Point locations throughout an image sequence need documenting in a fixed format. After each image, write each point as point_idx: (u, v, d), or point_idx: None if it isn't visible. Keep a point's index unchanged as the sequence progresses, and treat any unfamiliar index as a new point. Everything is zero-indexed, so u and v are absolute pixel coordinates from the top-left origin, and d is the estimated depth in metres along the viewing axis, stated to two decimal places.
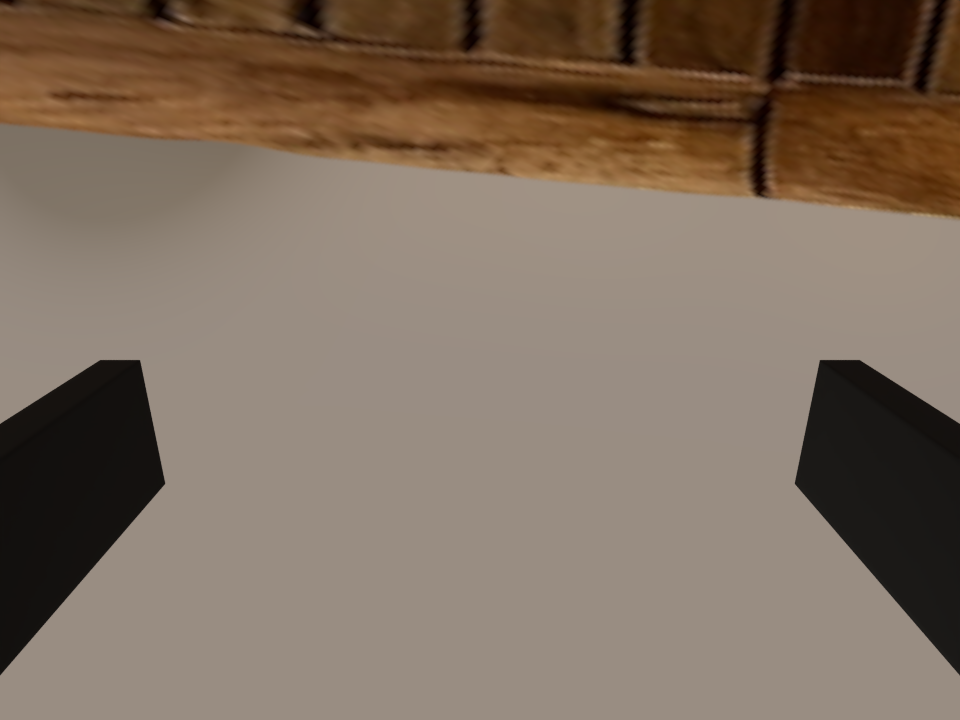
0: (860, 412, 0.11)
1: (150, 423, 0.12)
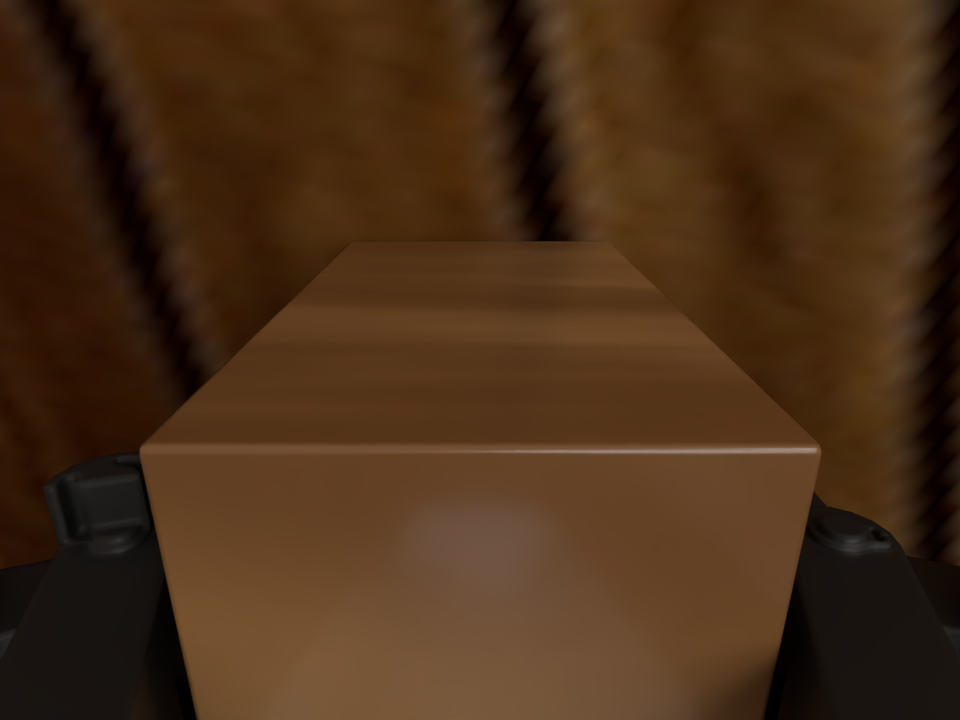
0: None
1: None
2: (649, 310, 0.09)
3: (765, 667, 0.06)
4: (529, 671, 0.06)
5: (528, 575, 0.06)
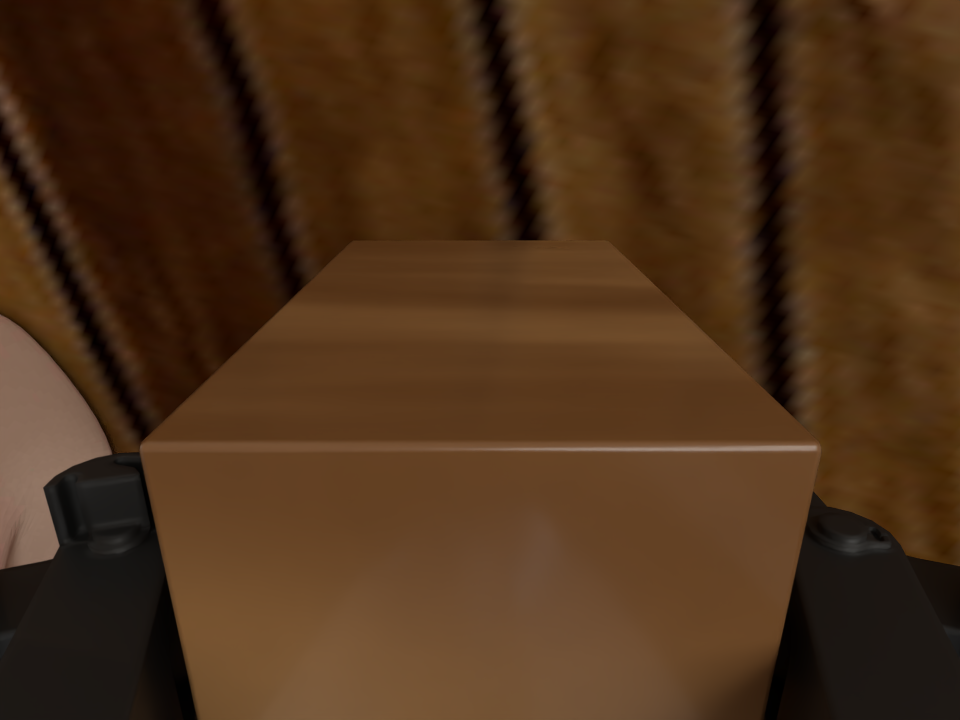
0: None
1: None
2: (649, 309, 0.09)
3: (765, 665, 0.06)
4: (528, 668, 0.06)
5: (529, 573, 0.06)
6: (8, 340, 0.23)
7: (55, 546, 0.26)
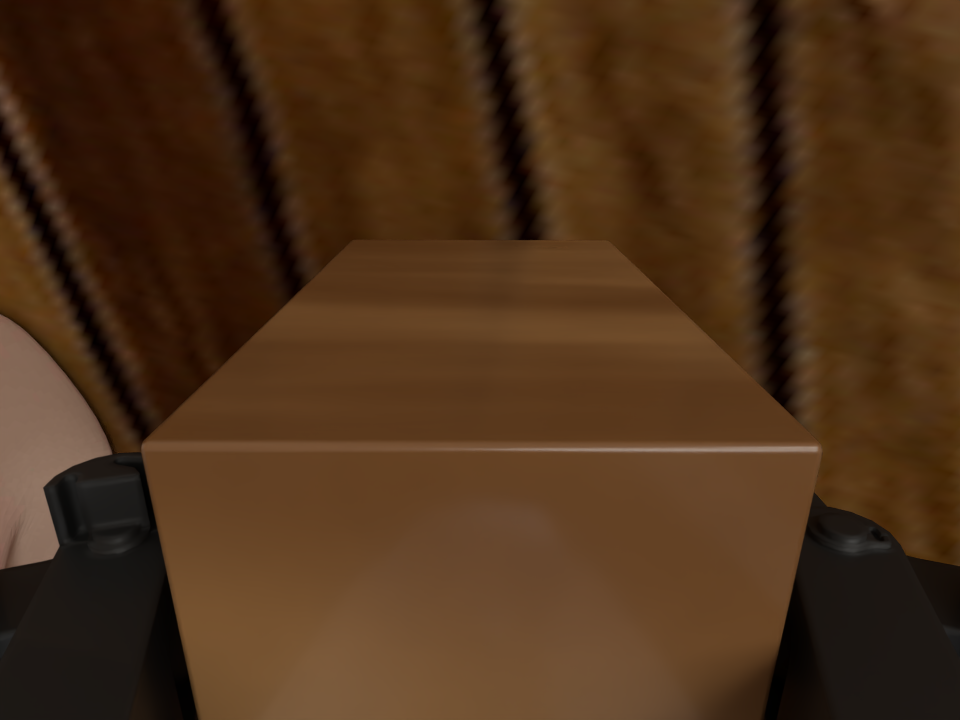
0: None
1: None
2: (650, 309, 0.09)
3: (765, 665, 0.06)
4: (529, 668, 0.06)
5: (529, 571, 0.06)
6: (8, 340, 0.23)
7: (55, 546, 0.26)
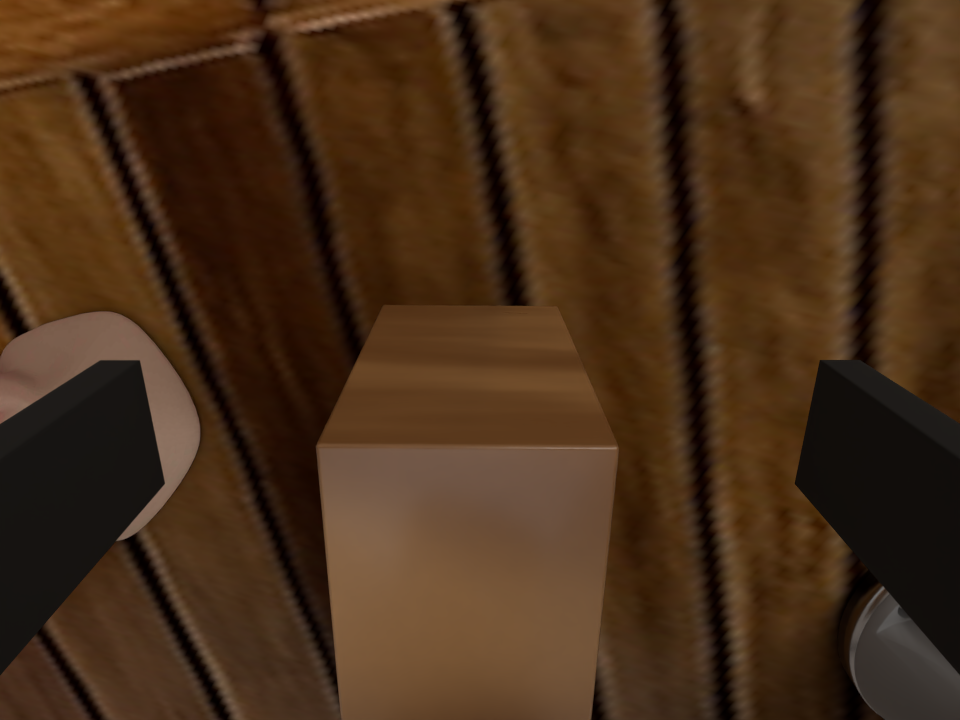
0: (860, 412, 0.11)
1: (150, 423, 0.12)
2: (566, 367, 0.15)
3: (602, 551, 0.12)
4: (490, 552, 0.12)
5: (489, 504, 0.12)
6: (129, 334, 0.32)
7: None
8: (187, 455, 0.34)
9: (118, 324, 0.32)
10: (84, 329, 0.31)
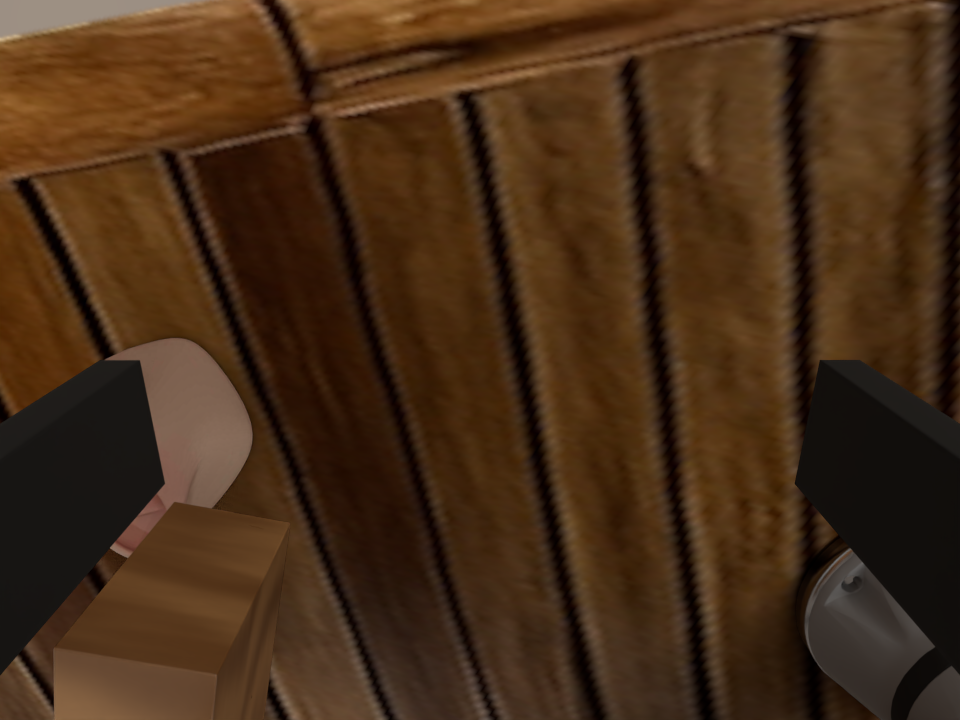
0: (860, 412, 0.11)
1: (150, 423, 0.12)
2: (243, 596, 0.26)
3: None
4: (146, 714, 0.23)
5: (146, 691, 0.22)
6: (197, 357, 0.39)
7: (213, 485, 0.42)
8: (241, 456, 0.41)
9: (188, 348, 0.39)
10: (161, 353, 0.38)
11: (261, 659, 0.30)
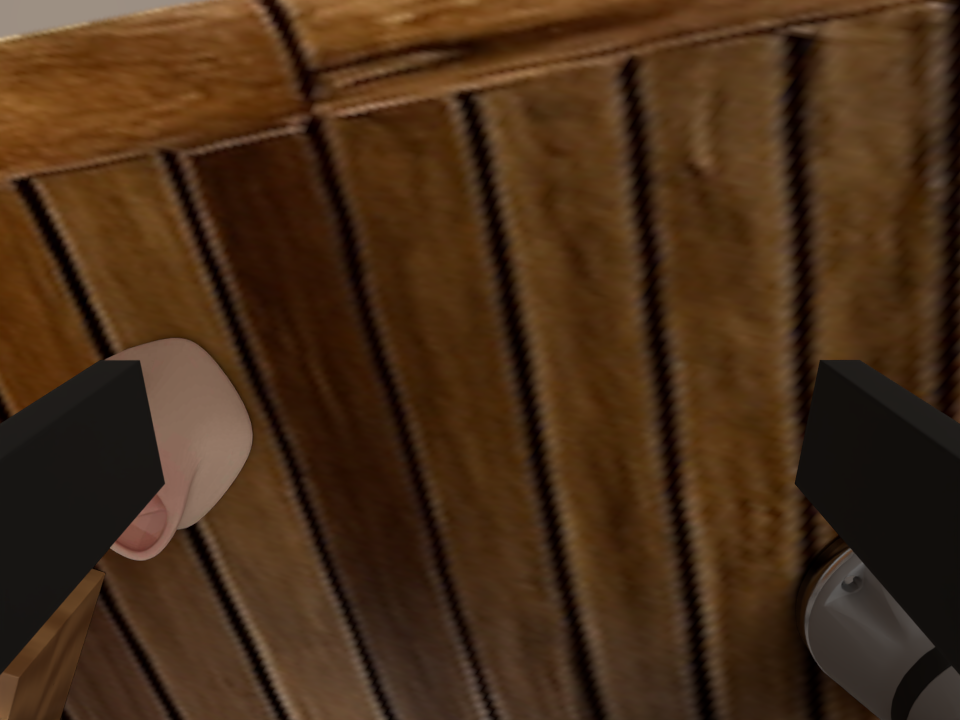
0: (860, 412, 0.11)
1: (150, 423, 0.12)
2: (53, 625, 0.40)
3: (9, 704, 0.38)
4: None
5: None
6: (197, 357, 0.39)
7: (213, 485, 0.42)
8: (241, 456, 0.41)
9: (188, 348, 0.39)
10: (161, 353, 0.38)
11: (66, 660, 0.45)
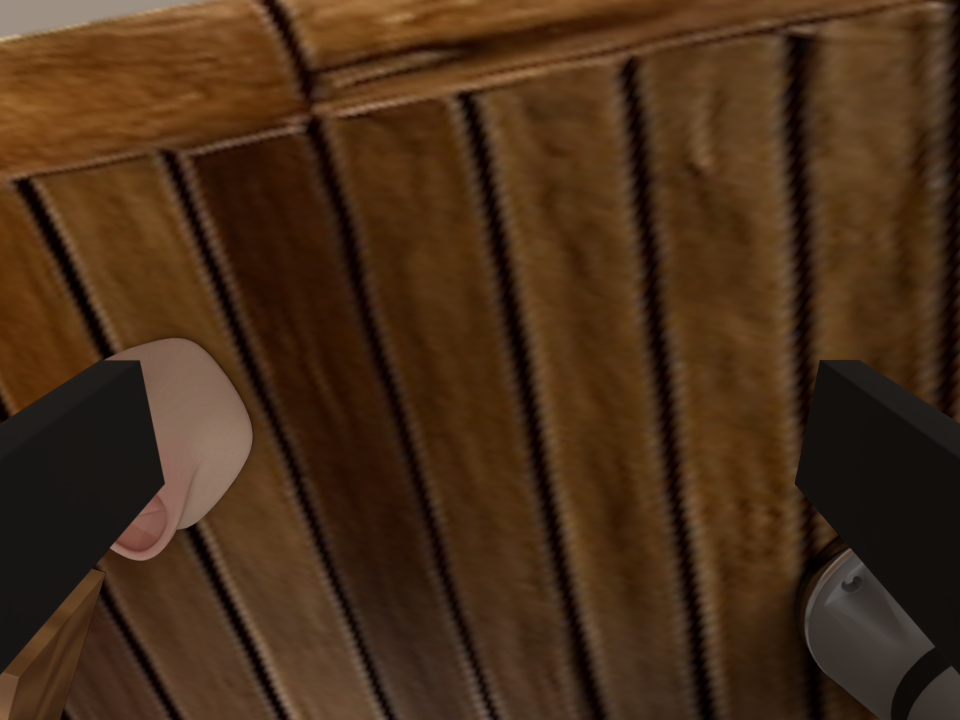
0: (860, 412, 0.11)
1: (150, 423, 0.12)
2: (53, 625, 0.40)
3: (9, 704, 0.38)
4: None
5: None
6: (197, 357, 0.39)
7: (213, 485, 0.42)
8: (241, 456, 0.41)
9: (188, 348, 0.39)
10: (161, 353, 0.38)
11: (66, 660, 0.45)
